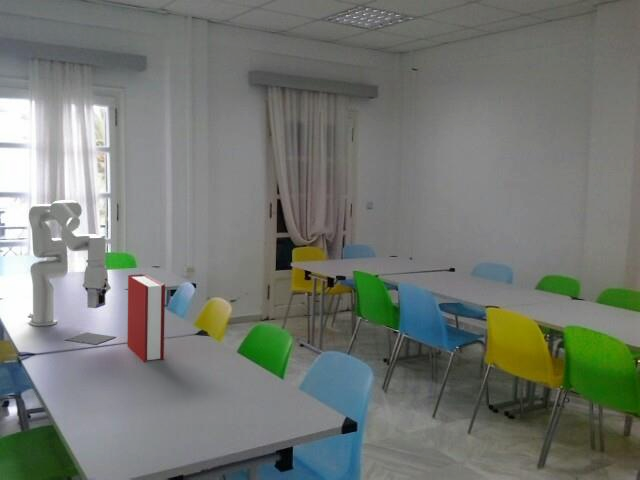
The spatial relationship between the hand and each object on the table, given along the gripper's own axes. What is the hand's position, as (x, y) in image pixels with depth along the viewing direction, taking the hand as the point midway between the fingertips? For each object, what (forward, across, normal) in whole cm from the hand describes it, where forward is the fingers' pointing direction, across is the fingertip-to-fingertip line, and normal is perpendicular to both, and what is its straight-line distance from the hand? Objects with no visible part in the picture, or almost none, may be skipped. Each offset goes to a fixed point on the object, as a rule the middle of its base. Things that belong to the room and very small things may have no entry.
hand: (96, 302), depth 274 cm
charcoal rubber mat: (+18, -3, 0) cm, 18 cm away
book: (+18, +31, -7) cm, 36 cm away
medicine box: (+2, 0, 0) cm, 2 cm away
